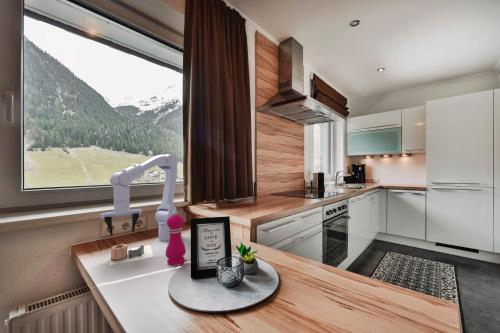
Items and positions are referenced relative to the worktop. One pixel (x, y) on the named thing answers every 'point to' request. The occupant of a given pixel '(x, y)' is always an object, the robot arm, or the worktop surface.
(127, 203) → the robot arm
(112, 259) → the peg
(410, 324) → the worktop surface
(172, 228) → the pepper mill
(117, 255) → the ring
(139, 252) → the grey mechanical part
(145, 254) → the board
